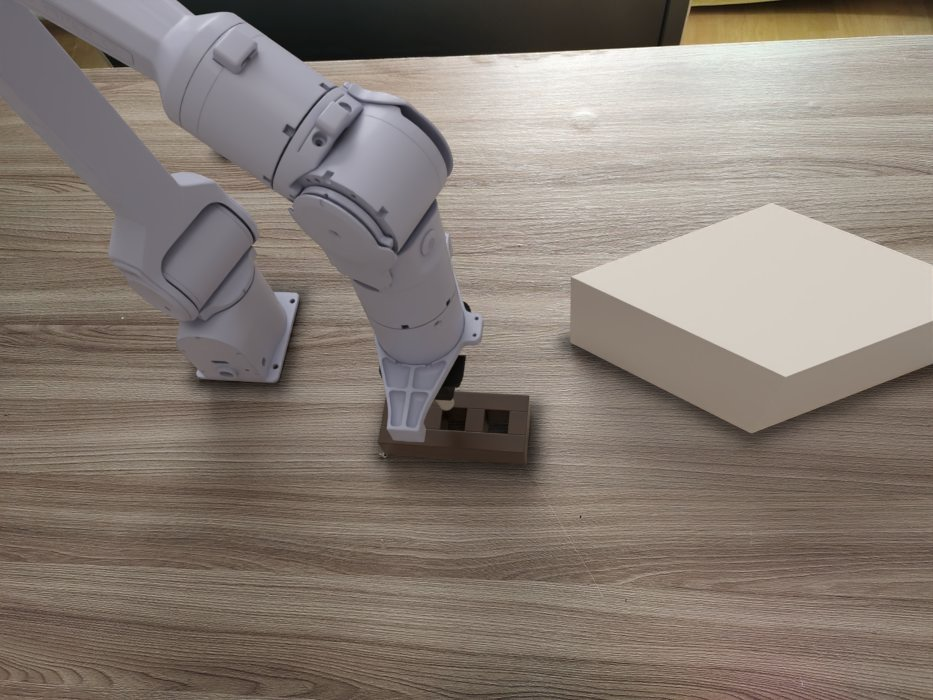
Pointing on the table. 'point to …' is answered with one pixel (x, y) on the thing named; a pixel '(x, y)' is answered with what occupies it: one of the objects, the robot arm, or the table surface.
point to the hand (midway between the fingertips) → (440, 385)
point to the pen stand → (469, 430)
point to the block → (759, 315)
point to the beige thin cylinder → (445, 404)
